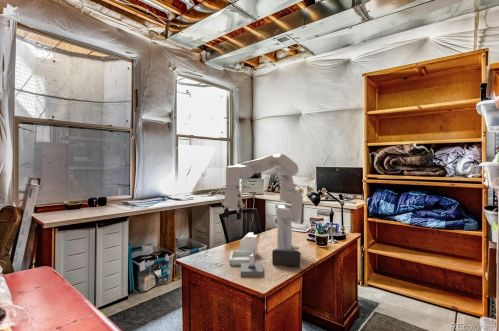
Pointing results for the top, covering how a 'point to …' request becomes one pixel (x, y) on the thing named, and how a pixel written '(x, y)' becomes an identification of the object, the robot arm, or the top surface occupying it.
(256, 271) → the grey square hole plate
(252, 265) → the pin
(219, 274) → the top surface
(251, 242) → the corner bracket
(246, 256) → the parts tray
